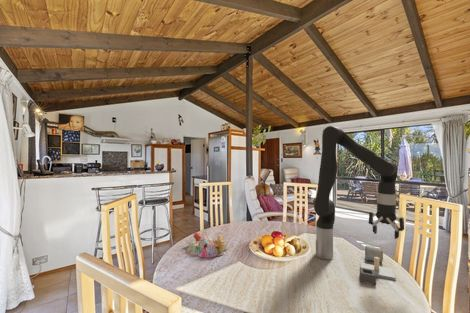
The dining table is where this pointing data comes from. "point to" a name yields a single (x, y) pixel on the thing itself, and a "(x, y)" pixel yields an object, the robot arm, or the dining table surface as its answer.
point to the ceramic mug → (373, 253)
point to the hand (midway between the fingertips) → (385, 235)
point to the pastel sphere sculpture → (207, 246)
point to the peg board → (379, 270)
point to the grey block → (367, 276)
